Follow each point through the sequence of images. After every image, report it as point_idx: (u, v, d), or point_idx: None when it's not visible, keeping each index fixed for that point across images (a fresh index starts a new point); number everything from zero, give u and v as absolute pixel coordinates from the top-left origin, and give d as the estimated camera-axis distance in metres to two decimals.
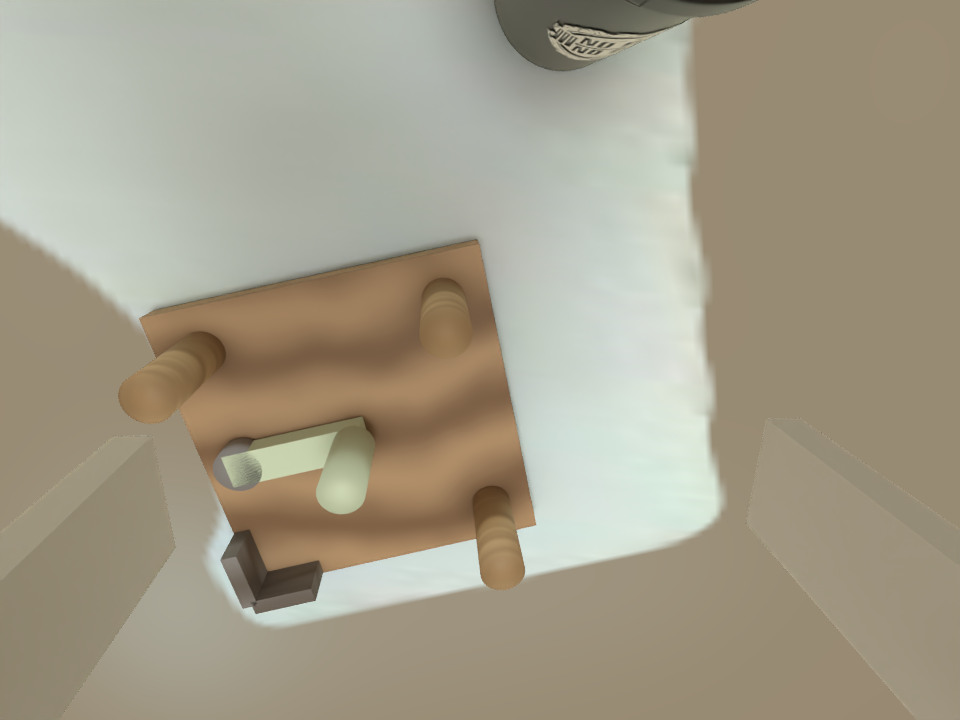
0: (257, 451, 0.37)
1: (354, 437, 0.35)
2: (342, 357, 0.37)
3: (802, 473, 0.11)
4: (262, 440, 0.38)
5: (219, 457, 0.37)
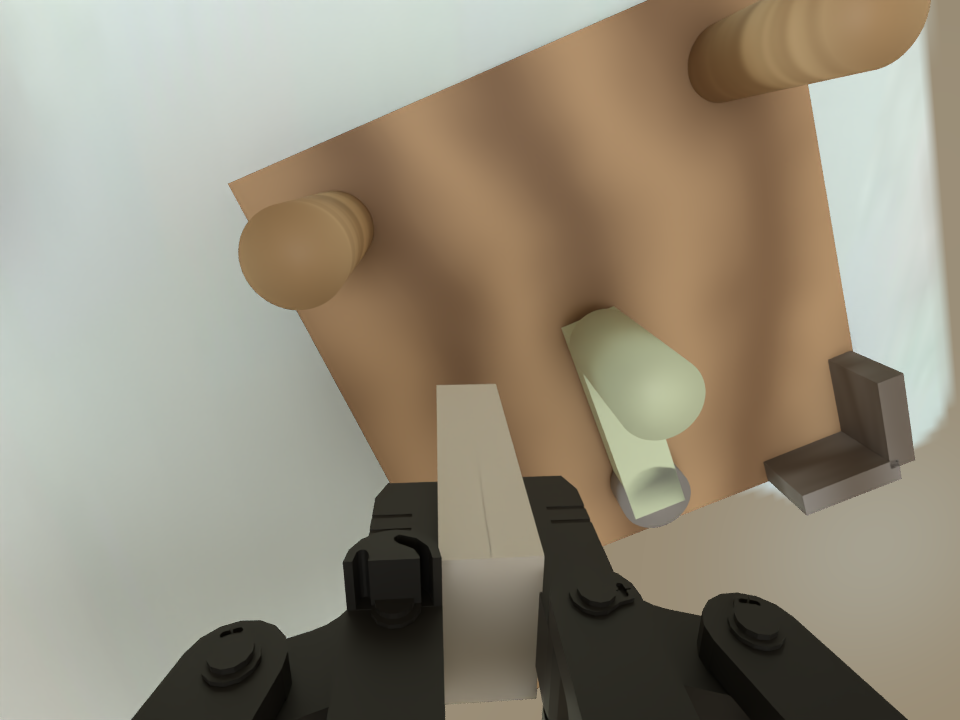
0: (623, 475, 0.25)
1: (579, 354, 0.21)
2: (467, 368, 0.24)
3: None
4: (611, 462, 0.26)
5: (635, 521, 0.25)
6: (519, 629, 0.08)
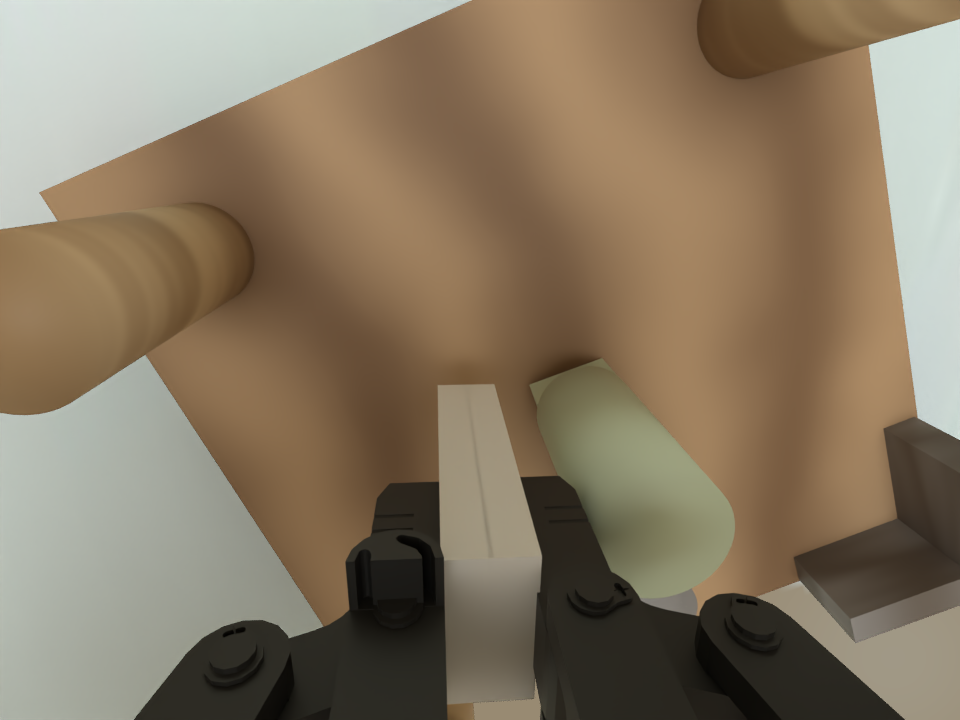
0: None
1: (547, 434, 0.14)
2: (394, 441, 0.18)
3: None
4: None
5: None
6: (517, 629, 0.08)
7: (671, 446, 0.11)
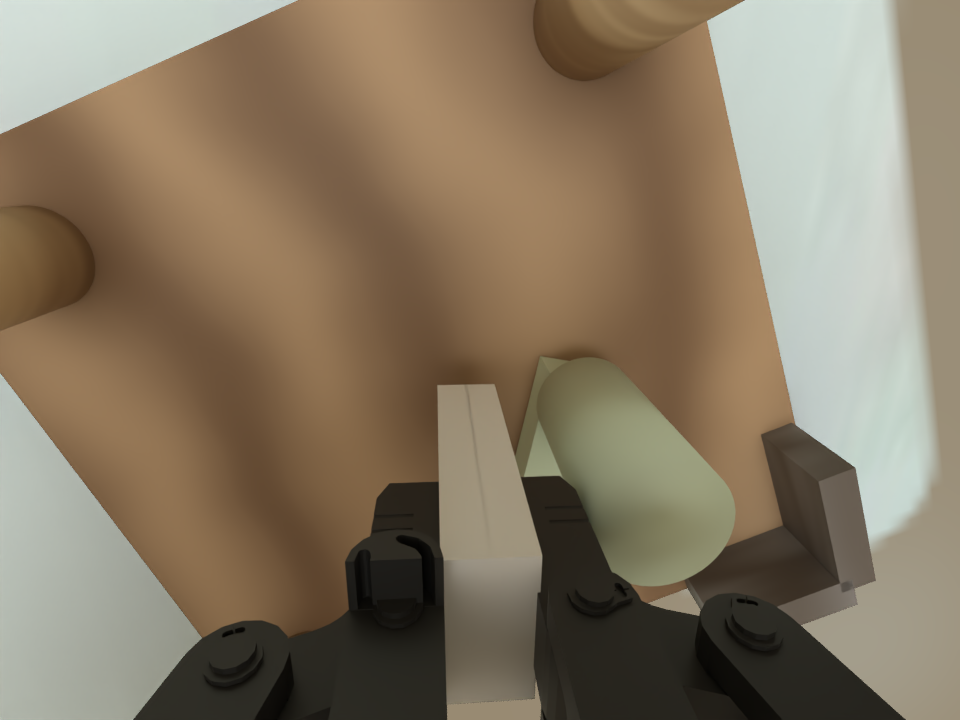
0: None
1: (559, 399, 0.14)
2: (256, 447, 0.18)
3: None
4: None
5: None
6: (517, 629, 0.08)
7: (697, 453, 0.11)
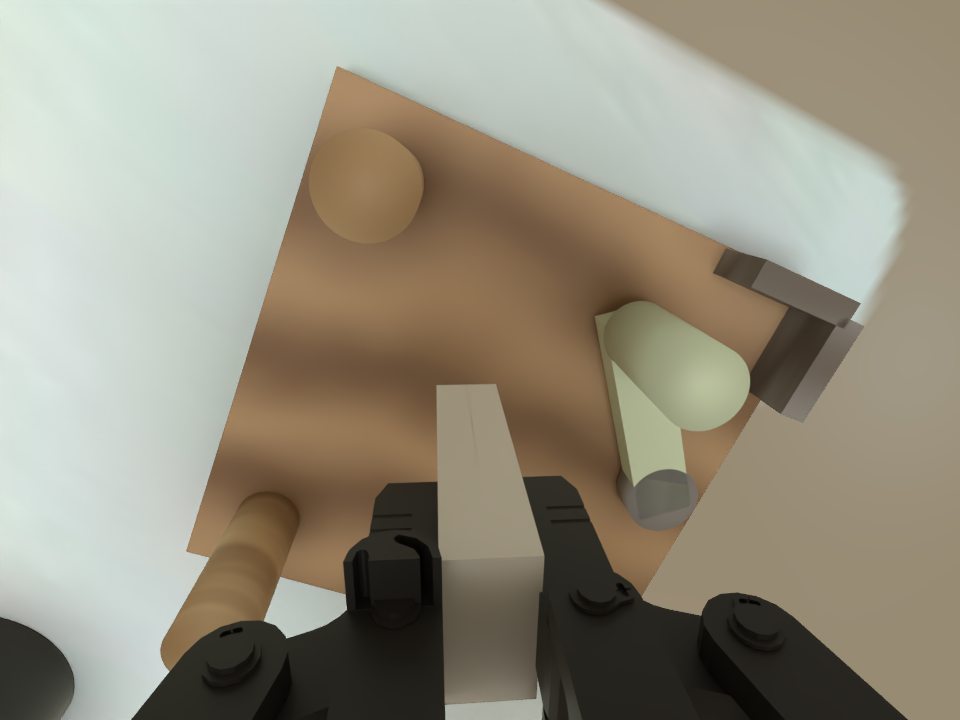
0: (635, 473, 0.24)
1: (617, 340, 0.20)
2: None
3: None
4: (622, 460, 0.25)
5: (639, 521, 0.25)
6: (519, 629, 0.08)
7: (712, 338, 0.17)
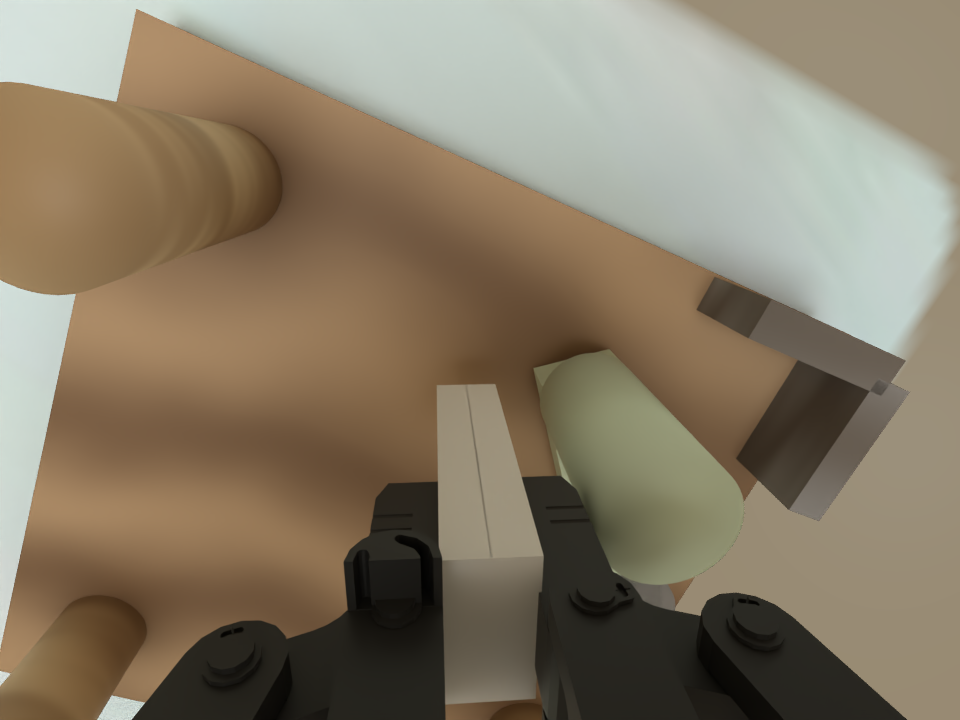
0: None
1: (552, 415, 0.14)
2: None
3: None
4: None
5: None
6: (518, 629, 0.08)
7: (685, 433, 0.11)
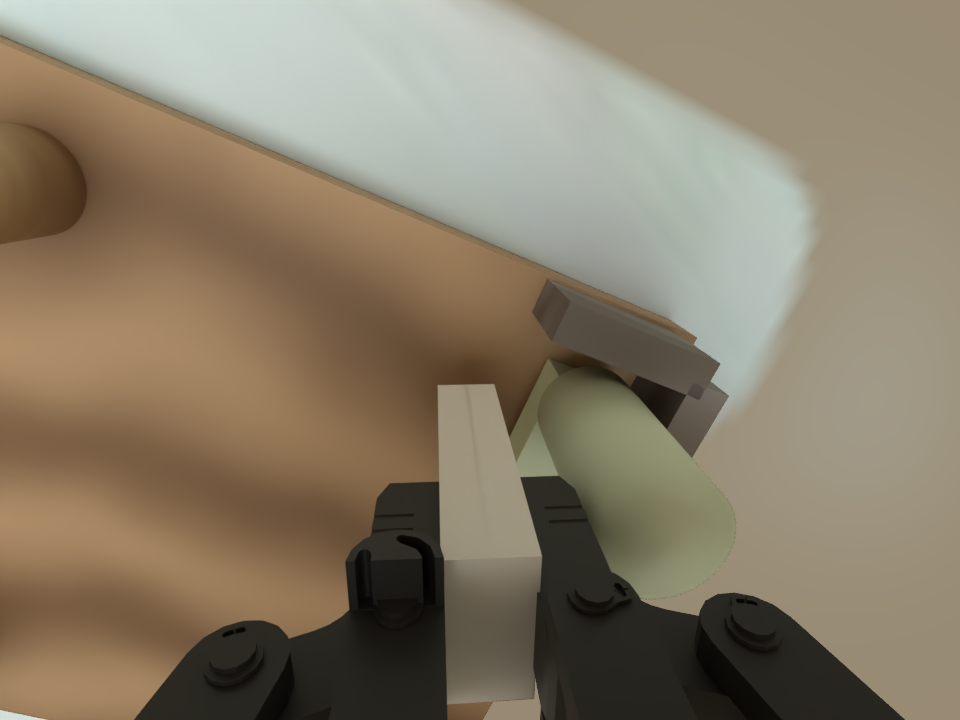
0: None
1: (568, 401, 0.14)
2: (190, 636, 0.20)
3: None
4: None
5: None
6: (517, 629, 0.08)
7: None
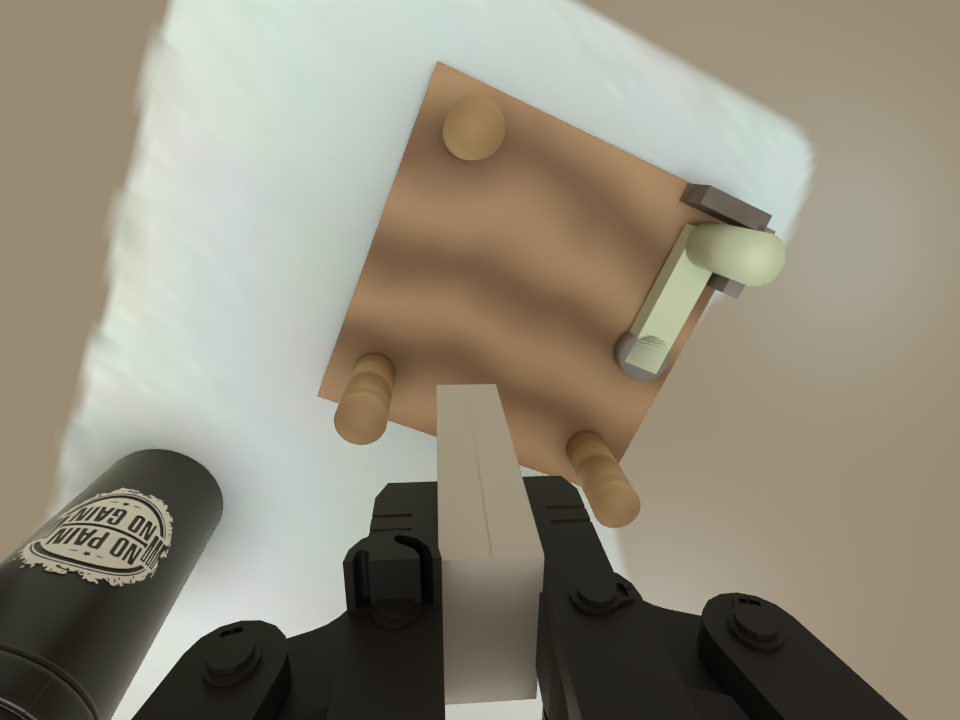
0: (644, 329, 0.36)
1: (706, 230, 0.32)
2: (490, 378, 0.38)
3: None
4: (636, 323, 0.37)
5: (624, 362, 0.36)
6: (519, 629, 0.08)
7: None
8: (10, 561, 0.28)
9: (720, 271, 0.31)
